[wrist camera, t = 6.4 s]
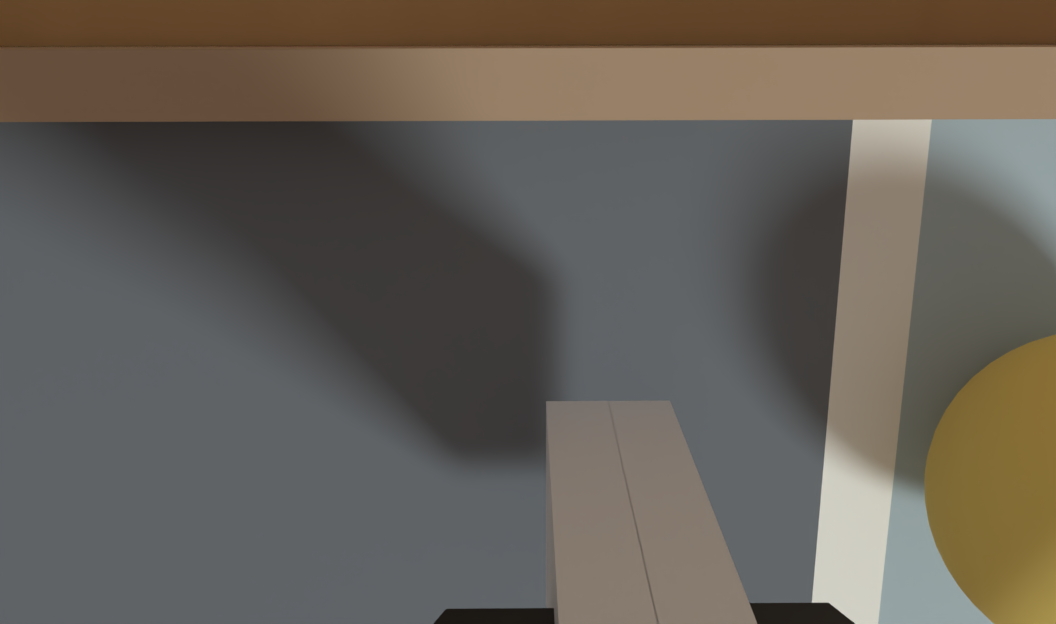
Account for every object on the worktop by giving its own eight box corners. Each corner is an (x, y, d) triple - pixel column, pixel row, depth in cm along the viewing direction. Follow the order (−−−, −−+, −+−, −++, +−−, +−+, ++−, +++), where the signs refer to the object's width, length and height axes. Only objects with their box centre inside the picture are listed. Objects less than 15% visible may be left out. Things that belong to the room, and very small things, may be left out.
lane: (-325, 746, 16) (-589, 971, 12) (-519, 48, 13) (-950, 54, 9) (1628, 735, 16) (1970, 950, 12) (1873, 42, 13) (2420, 46, 10)
